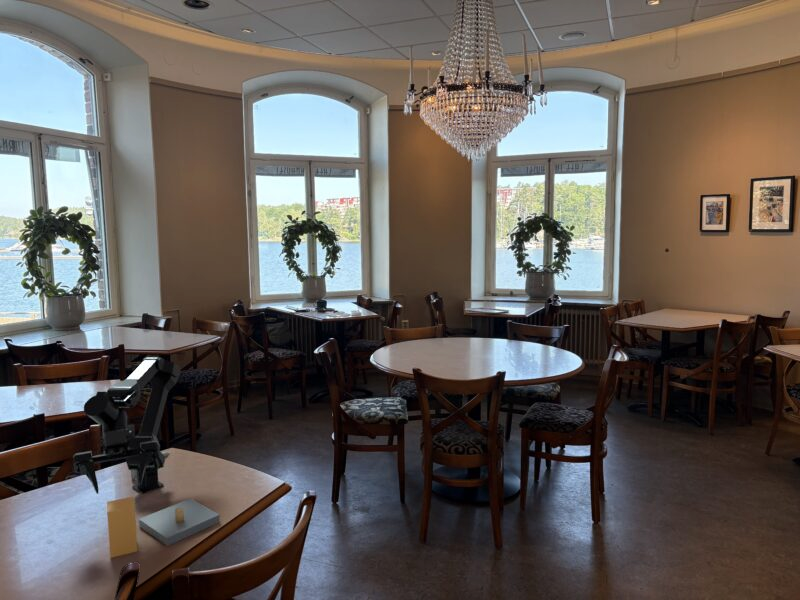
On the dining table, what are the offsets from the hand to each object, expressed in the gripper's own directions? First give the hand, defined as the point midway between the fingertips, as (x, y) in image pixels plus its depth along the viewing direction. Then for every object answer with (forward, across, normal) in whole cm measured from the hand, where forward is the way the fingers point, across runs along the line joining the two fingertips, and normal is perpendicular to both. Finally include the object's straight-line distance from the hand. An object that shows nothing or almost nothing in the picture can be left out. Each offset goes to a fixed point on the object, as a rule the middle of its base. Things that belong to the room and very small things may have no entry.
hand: (119, 488), depth 133 cm
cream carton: (+13, 0, +4) cm, 14 cm away
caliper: (-21, +10, +39) cm, 45 cm away
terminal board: (+9, +13, +8) cm, 18 cm away
